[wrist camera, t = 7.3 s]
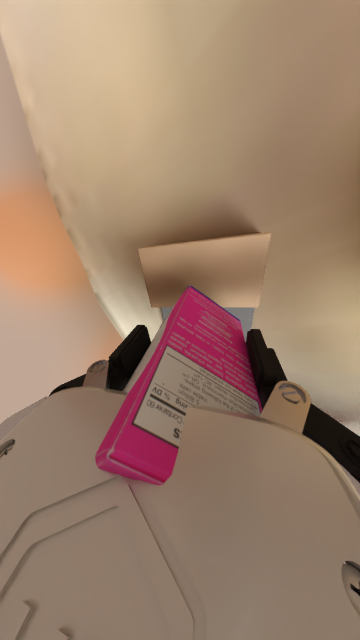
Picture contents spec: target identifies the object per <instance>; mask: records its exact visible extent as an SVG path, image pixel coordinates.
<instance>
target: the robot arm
mask: <svg viewBox="0 0 360 640" xmlns="http://www.w3.org/2000/svg"><path fill="white" fill-rule="evenodd" d="M150 344H151V340H150V337H149V333H148V330H147V327H145V325H137V326H136V327H135V328H134V329H133V330H132V332H131V333H130V334H129V335H128V336H127V337H126V338H125V340H124V341H123V342H122V343H121V344H120V345H119V346H118V347H117V349H116V350H115V351H114V352H113V353H112V354H111V356H109V360H108V361H107V360H99V361H97V362H95V363H93V364H92V365H91V366H90V367H89V368H88V370H87V373H86V374H84V375H82V376H80V377H78V378H76V379H73V380H71V381H69V382H67V383H64V384H62V385H60V386H58V387H57V388H56V389H54V390H53V391H52V392H51V394H50V395H49V397H48V398H47V397H45V398H43V399H41V400H39V401H37V402H35V403H34V404H32V405H30V406H28V407H26V408H25V409H23V410H21V411H19V412H17V413H16V414H14V415H12V416H11V417H9V418H7V419H6V420H5V421H3V422H2V423H1V424H0V640H360V436H358V435H357V434H355V433H354V432H352V431H351V430H349V429H348V428H346V427H345V426H343V425H342V424H340V423H339V422H338V421H336V420H335V419H333V418H332V417H330V416H329V415H327V414H326V413H324V412H323V411H321V410H320V409H318V408H317V407H315V406H314V405H313V404H311V398H310V396H309V394H308V393H307V392H306V390H304V389H303V388H302V387H301V386H299V385H297V384H296V383H293V382H290V381H287V378H286V376H285V374H284V372H283V369H282V367H281V365H280V363H279V360H278V358H277V356H276V353H275V351H274V349H272V348H267V346H266V344H265V341H264V339H263V336H262V334H261V331H260V329H251V330H250V331H248V332H247V338H246V346H247V350H248V355H249V359H250V363H251V367H252V371H253V375H254V379H255V383H256V387H257V391H258V395H259V399H260V403H261V407H262V413H261V414H260V416H259V417H257V416H253V415H249V414H244V413H239V412H234V411H229V410H224V409H218V408H213V407H208V406H190V407H187V410H186V416H185V421H184V425H183V430H182V434H181V439H180V444H179V449H178V454H177V458H176V462H175V465H174V469H173V472H172V475H171V476H170V477H169V478H168V479H167V481H166V482H165V483H164V484H163V485H155V484H152V483H148V482H144V481H141V480H133V479H130V478H126V477H122V476H120V475H119V474H115V473H110V472H107V471H104V470H101V469H99V468H98V467H97V465H96V460H95V455H96V452H97V451H98V449H99V447H100V445H101V443H102V441H103V439H104V438H105V436H106V434H107V432H108V430H109V428H110V426H111V425H112V423H113V421H114V419H115V417H116V415H117V414H118V412H119V410H120V408H121V406H122V404H123V402H124V400H125V399H126V397H127V392H123V390H124V389H125V387H126V385H127V384H128V382H129V380H130V378H131V377H132V375H133V373H134V372H135V370H136V368H137V367H138V365H139V363H140V361H141V360H142V358H143V356H144V355H145V353H146V351H147V349H148V348H149V346H150ZM344 562H345V563H347V564H343V563H344Z"/></svg>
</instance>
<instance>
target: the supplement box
mask: <svg viewBox="0 0 360 640" xmlns="http://www.w3.org/2000/svg"><path fill="white" fill-rule="evenodd" d="M123 392H127V397H126V399H125V400H124V402H123V404H122V406H121V408H120V410H119V412H118V414H117V415H116V417H115V419H114V421H113V423H112V425H111V426H110V428H109V430H108V432H107V434H106V436H105V438H104V439H103V441H102V443H101V445H100V447H99V449H98V451H97V452H96V455H95V460H96V465H97V467H98V468H99V469H101V470H104V471H107V472H110V473H115V474H119V475H120V476H122V477H126V478H130V479H133V480H141V481H144V482H148V483H152V484H155V485H163V484H164V483H165V482H166V481H167V479H168V478H169V477H170V476H171V475H172V472H173V469H174V465H175V462H176V458H177V454H178V449H179V444H180V439H181V434H182V430H183V425H184V421H185V416H186V410H187V407H190V406H208V407H213V408H218V409H224V410H229V411H234V412H239V413H244V414H249V415H253V416H257V417H259V416H260V414H261V413H262V407H261V403H260V399H259V395H258V391H257V387H256V383H255V379H254V375H253V371H252V367H251V363H250V359H249V355H248V350H247V346H246V342H245V338H244V334H243V330H242V326H241V322H240V320H239V319H238V318H236V317H235V316H233V315H232V314H231V313H229V312H228V311H226V310H225V309H224V308H222V307H221V306H219V305H218V304H217V303H215V302H214V301H212V300H211V299H210V298H208V297H207V296H205V295H204V294H203V293H201V292H200V291H198V290H197V289H195V288H194V287H192V286H191V285H189V286H188V287H187V288H186V290H185V291H184V292H183V294H182V295H181V296H180V298H179V299H178V301H177V302H176V304H175V305H174V306H173V308H172V309H171V311H170V312H169V314H168V315H167V317H166V318H165V320H164V321H163V323H162V325H161V326H160V328H159V330H158V332H157V334H156V335H155V337H154V339H153V341H152V342H151V344H150V346H149V348H148V349H147V351H146V353H145V355H144V356H143V358H142V360H141V361H140V363H139V365H138V367H137V368H136V370H135V372H134V373H133V375H132V377H131V378H130V380H129V382H128V384H127V385H126V387H125V389H124V390H123Z"/></svg>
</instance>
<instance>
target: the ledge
mask: <svg viewBox="0 0 360 640" xmlns="http://www.w3.org/2000/svg"><path fill="white" fill-rule="evenodd" d="M270 239H271V233H252V234H244V235H236V236H228V237H219V238H211V239H203V240H194V241H186V242H178V243H169V244H161V245H153V246H149V247H144V248H140V249H138V253H139V257H140V261H141V265H142V270H143V274H144V278H145V282H146V287H147V291H148V295H149V299H150V304H151V307H173V306H174V305H175V304H176V302H177V301H178V299H179V298H180V296H181V295H182V294H183V292H184V291H185V290H186V288H187V287H188V286H189V285H191V286H192V287H194V288H195V289H197V290H198V291H200V292H201V293H203V294H204V295H205V296H207V297H208V298H210V299H211V300H212V301H214V302H215V303H217V304H218V305H219V306H221V307H259V301H260V296H261V290H262V284H263V279H264V273H265V267H266V262H267V256H268V250H269V245H270Z"/></svg>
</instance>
